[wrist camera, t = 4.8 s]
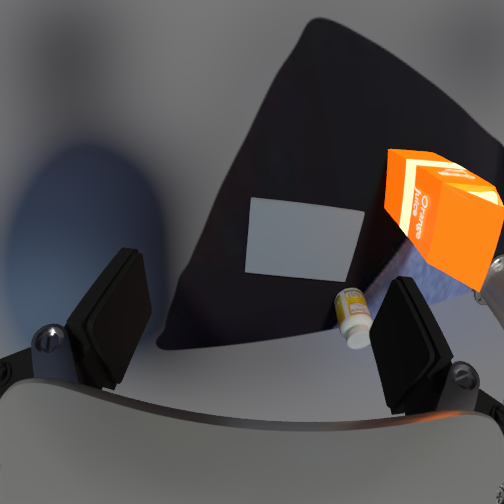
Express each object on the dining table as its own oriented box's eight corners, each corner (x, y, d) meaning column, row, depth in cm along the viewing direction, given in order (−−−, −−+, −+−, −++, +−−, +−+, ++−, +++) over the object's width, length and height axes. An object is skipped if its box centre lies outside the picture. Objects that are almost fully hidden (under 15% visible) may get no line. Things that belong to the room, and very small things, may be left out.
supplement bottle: (354, 281, 44) (368, 322, 36) (368, 299, 46) (382, 340, 38) (327, 298, 46) (336, 340, 38) (343, 314, 48) (352, 356, 40)
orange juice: (433, 152, 32) (529, 209, 15) (427, 208, 36) (502, 289, 19) (386, 148, 32) (476, 205, 15) (382, 208, 37) (449, 298, 20)
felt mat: (363, 211, 38) (364, 213, 37) (344, 279, 44) (344, 281, 43) (251, 197, 38) (251, 198, 37) (245, 269, 44) (245, 272, 44)
